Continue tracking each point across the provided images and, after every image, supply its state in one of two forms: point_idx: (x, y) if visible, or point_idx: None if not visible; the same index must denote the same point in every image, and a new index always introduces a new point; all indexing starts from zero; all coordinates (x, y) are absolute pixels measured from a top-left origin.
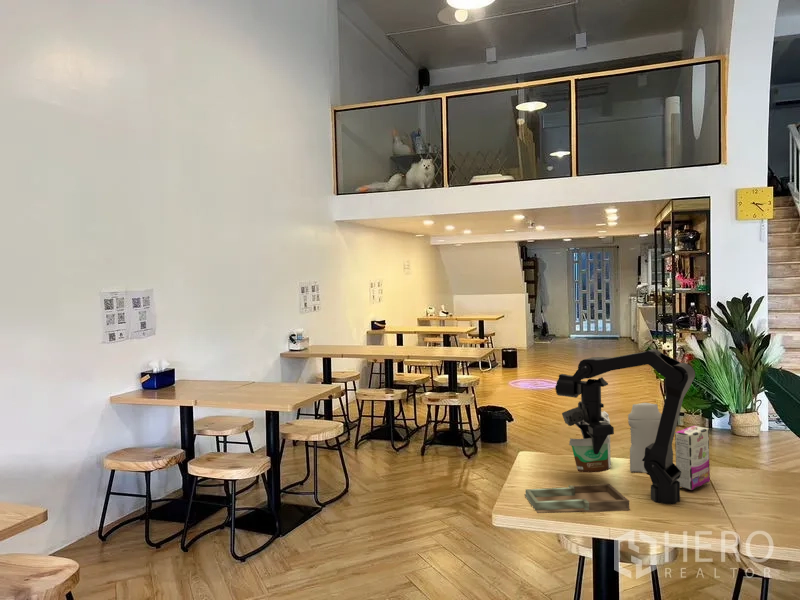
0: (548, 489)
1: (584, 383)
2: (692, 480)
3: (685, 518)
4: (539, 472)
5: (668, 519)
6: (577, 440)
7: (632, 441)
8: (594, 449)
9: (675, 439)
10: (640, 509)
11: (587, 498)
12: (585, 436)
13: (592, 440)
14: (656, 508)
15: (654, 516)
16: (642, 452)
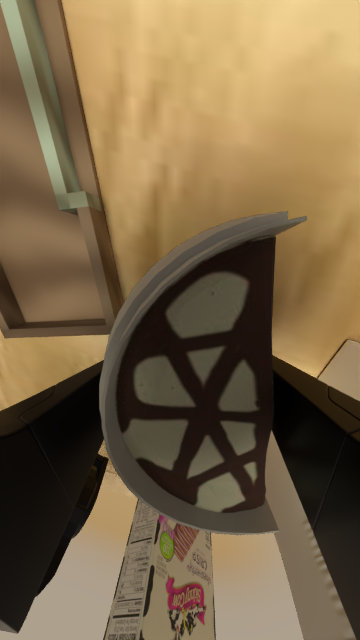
0: (21, 72)
1: None
2: None
3: (17, 401)
4: (350, 119)
5: (3, 376)
6: (164, 281)
7: (312, 531)
8: (97, 365)
9: (141, 631)
10: (36, 350)
11: (58, 248)
12: (291, 403)
13: (40, 404)
14: (49, 378)
15: (8, 360)
16: (276, 496)
